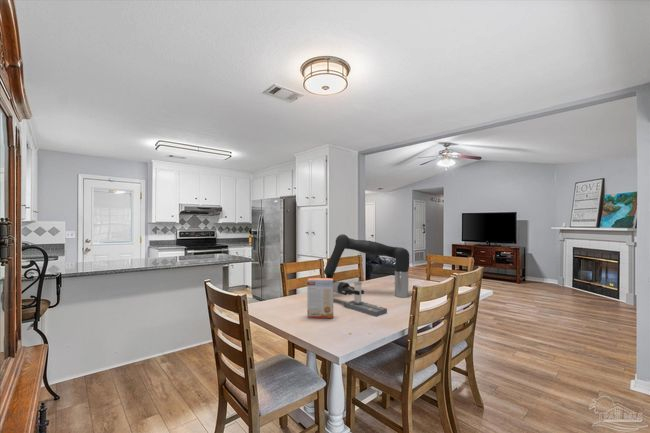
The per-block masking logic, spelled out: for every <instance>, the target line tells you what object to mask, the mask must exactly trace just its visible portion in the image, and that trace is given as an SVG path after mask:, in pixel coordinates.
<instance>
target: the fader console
mask: <svg viewBox="0 0 650 433" xmlns="http://www.w3.org/2000/svg"><path fill="white" fill-rule="evenodd" d="M353 302H354V300H351V301H347V302H344V308H346V309H350V310H353V311H357V312H360V313H363V314H366V315H370V316H373V317H378V316H381V315H385V314H387V313H388V308H387V307H383V306H380V305H376V304H373V303H368V302H365V301H362V302H363V303H360V304H356V303H353Z"/></svg>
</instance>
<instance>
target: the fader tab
mask: <svg viewBox="0 0 650 433" xmlns="http://www.w3.org/2000/svg"><path fill="white" fill-rule="evenodd" d="M353 285H354V286H353V287H354V290H356V291H359V292H360V295H356V294H353V295H354V296H353V297H354V298H353V299H354V300H353V301H354V302H353V303H356V304H360V303H363V302H364V301H362V294H361V290H362V281H354V282H353Z"/></svg>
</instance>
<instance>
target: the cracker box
mask: <svg viewBox="0 0 650 433" xmlns="http://www.w3.org/2000/svg"><path fill="white" fill-rule="evenodd" d="M333 280H334V277H333V278H326V277H324V278H320V277H308V279H307V287H306V290H307V293H306V294H307V295H306V296H307V304H306V305H307V308H306V309H307V310H306V311H307V318H308V319H309V318H313V319H317V318H318V319H334V318H333V317H334V292H333Z"/></svg>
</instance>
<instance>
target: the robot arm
mask: <svg viewBox="0 0 650 433" xmlns="http://www.w3.org/2000/svg"><path fill="white" fill-rule="evenodd" d="M334 244H335V245H334V248H333V251H332V253H331V255H330V258H329V259H328V261H327V263H326V265H325V268H324V270H323V274H324V275H325V276H324V277H323V276H321V277H319V278H333V293H337V294H340V295H343V296H347V295H350V296H351V295H354V294H356V295H360V292H359V291H356V290H354V286H352V285H350V284H349V283H348V282H344V281H340V280H339V281H338V280H334V275H335V272H336V269H337V268H338V265H339V263H340V260H341V257H342V255H343V253H344V251H345V249H347V250H353V251H357V252H360V253H363V254H368V255H372V256H379V257H389V258H392V259H395V266H394V296H395V297H397V298H408V297H409V268H410V252H409V251H408V250H407V249H406V248H404V247H398V246H390V245H386V244H384V243H380V242H377V241H372V240H366V239H365V240H364V239H354V238H350V237H349V236H347V235H346V234H343V233H342V234H341V233H340V234H339V235H338V236H336V238H335V243H334ZM364 294H365V290H364V289H361V295H364Z"/></svg>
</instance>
